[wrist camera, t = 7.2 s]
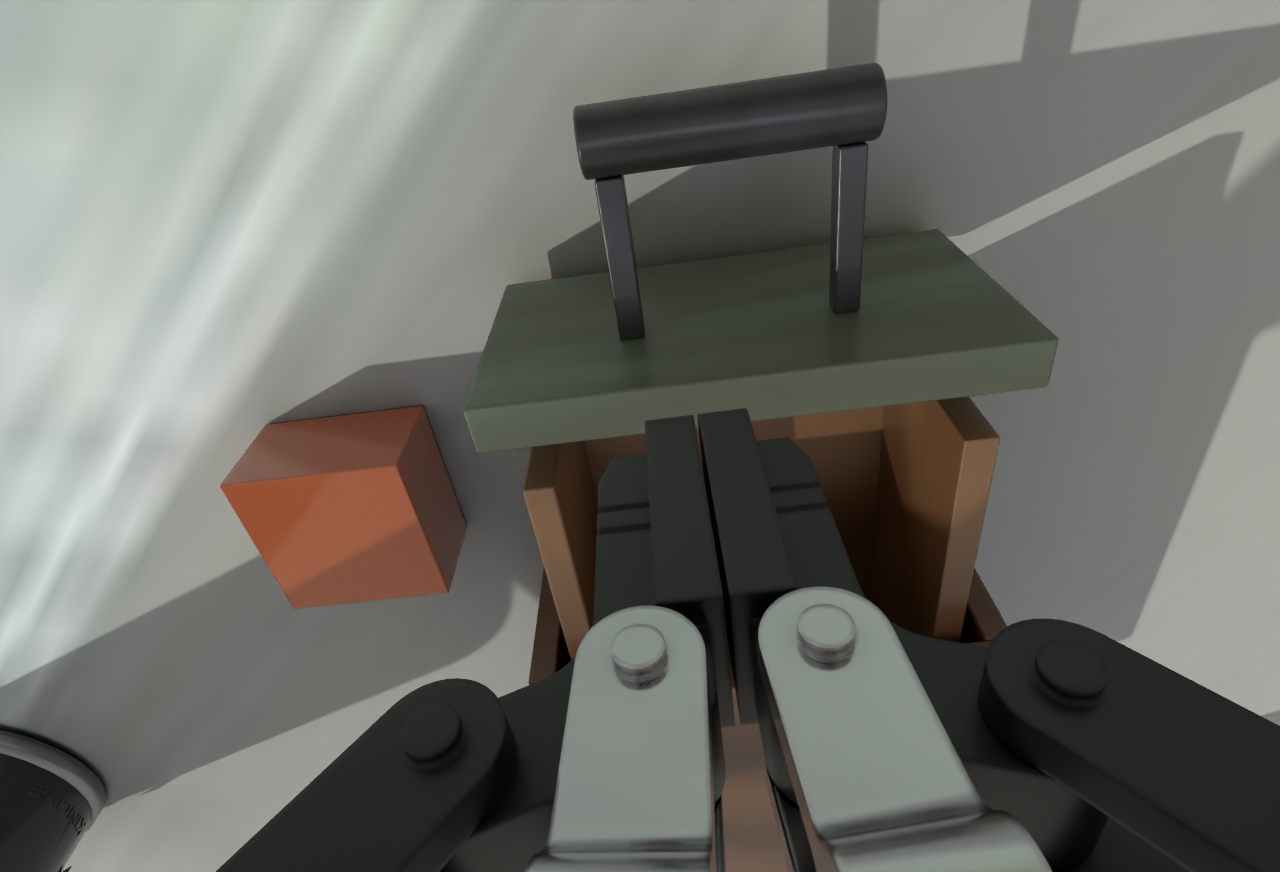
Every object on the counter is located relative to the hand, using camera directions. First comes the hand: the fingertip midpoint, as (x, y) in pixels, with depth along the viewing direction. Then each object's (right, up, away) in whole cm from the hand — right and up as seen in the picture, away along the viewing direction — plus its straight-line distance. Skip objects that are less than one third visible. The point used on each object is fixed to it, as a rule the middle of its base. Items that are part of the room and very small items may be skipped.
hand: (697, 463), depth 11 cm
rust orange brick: (-11, -1, +15) cm, 19 cm away
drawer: (+2, +2, +12) cm, 12 cm away
